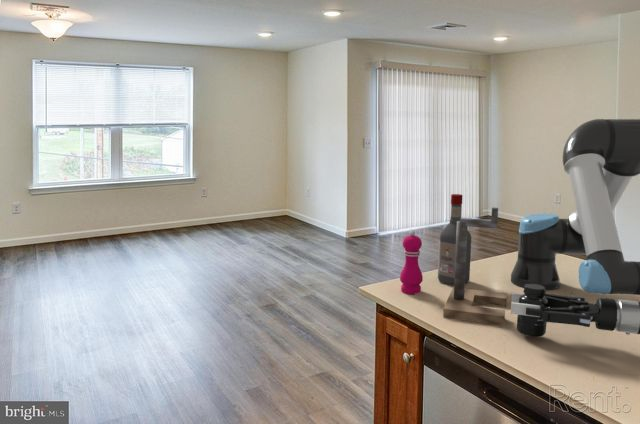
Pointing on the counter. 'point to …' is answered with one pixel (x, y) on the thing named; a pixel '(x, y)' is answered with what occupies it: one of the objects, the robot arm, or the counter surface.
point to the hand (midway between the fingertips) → (511, 302)
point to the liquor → (452, 245)
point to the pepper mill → (411, 265)
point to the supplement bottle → (530, 323)
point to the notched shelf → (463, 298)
